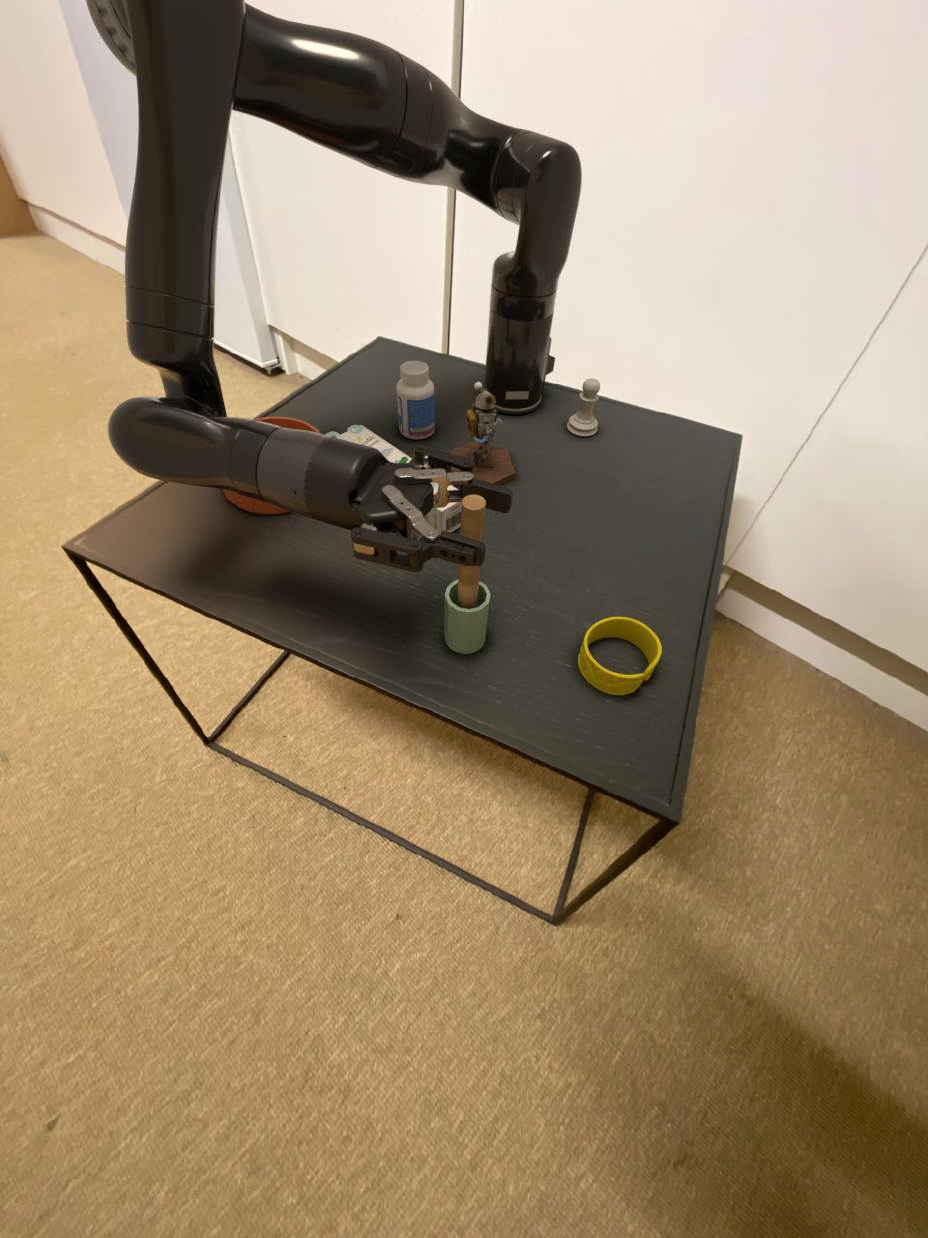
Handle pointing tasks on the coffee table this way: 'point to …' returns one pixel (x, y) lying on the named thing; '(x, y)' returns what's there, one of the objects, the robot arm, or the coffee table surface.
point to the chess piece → (585, 411)
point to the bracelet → (626, 631)
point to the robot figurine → (485, 442)
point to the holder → (465, 620)
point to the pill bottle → (415, 401)
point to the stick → (474, 529)
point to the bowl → (258, 505)
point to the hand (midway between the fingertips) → (497, 527)
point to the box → (437, 517)
